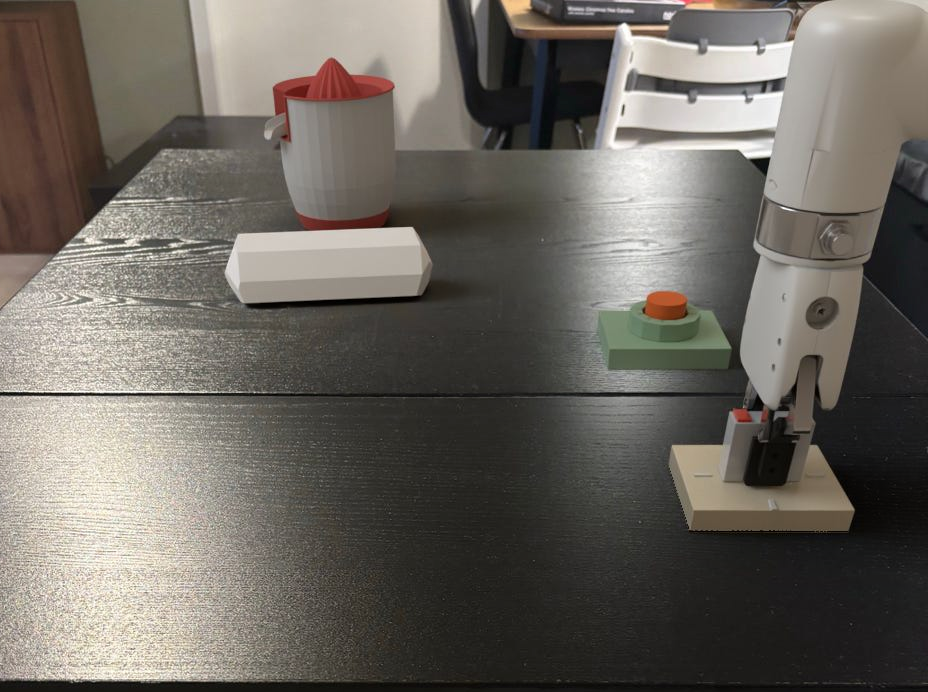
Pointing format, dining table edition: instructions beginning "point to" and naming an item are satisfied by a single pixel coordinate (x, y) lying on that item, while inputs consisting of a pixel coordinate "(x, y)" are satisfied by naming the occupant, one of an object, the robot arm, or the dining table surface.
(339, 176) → the citrus juicer
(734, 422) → the tap handle
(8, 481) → the dining table surface
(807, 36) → the robot arm
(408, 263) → the crystal
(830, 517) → the plate
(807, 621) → the dining table surface
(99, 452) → the dining table surface
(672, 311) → the button
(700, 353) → the button block
